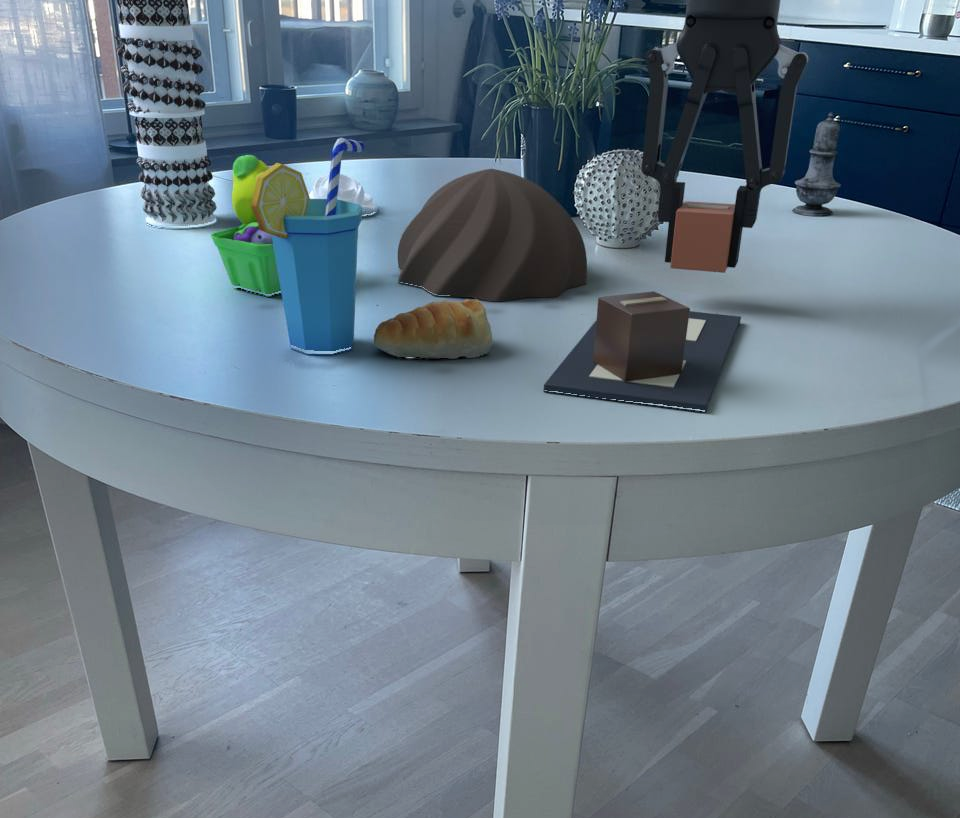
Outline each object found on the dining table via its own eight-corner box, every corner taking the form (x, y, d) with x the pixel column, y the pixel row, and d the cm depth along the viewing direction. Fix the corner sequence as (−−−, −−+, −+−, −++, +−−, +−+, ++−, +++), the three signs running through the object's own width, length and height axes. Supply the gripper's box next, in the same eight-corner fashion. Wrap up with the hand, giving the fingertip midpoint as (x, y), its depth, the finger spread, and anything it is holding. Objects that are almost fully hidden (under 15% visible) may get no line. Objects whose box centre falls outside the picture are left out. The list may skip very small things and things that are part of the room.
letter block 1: (681, 374, 77) (690, 305, 74) (625, 382, 76) (632, 312, 73) (647, 354, 81) (654, 289, 78) (592, 361, 79) (598, 294, 77)
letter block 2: (731, 260, 96) (739, 202, 93) (725, 272, 92) (733, 212, 89) (678, 256, 97) (684, 199, 95) (670, 268, 93) (676, 208, 91)
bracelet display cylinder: (126, 225, 120) (85, -27, 107) (169, 211, 128) (137, -26, 114) (193, 232, 118) (161, -24, 104) (234, 217, 125) (208, -24, 112)
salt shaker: (822, 218, 133) (842, 115, 126) (781, 211, 136) (799, 111, 129) (842, 212, 136) (863, 112, 130) (803, 206, 139) (820, 108, 133)
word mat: (705, 413, 72) (706, 403, 72) (543, 392, 75) (543, 383, 75) (740, 323, 92) (741, 315, 91) (609, 309, 95) (610, 301, 94)
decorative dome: (373, 259, 109) (369, 157, 103) (544, 249, 115) (549, 151, 109) (424, 307, 94) (423, 190, 88) (618, 292, 99) (629, 182, 94)
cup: (328, 315, 91) (317, 129, 83) (406, 326, 89) (403, 136, 80) (241, 360, 80) (218, 151, 72) (327, 374, 78) (313, 160, 70)
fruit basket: (267, 303, 94) (255, 170, 88) (204, 286, 98) (188, 158, 92) (352, 279, 102) (346, 156, 95) (290, 265, 106) (281, 146, 100)
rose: (331, 165, 133) (392, 172, 129) (333, 201, 135) (393, 210, 131) (282, 175, 126) (345, 183, 122) (285, 213, 128) (347, 223, 124)
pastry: (387, 368, 79) (385, 318, 77) (364, 343, 84) (362, 296, 82) (498, 356, 82) (500, 308, 80) (469, 333, 87) (470, 288, 85)
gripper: (855, -37, 83) (803, 260, 95) (636, -38, 87) (614, 246, 100) (854, -39, 77) (798, 279, 89) (618, -40, 81) (598, 262, 94)
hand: (701, 261), depth 95 cm, fingers closed on letter block 2, 5 cm apart
